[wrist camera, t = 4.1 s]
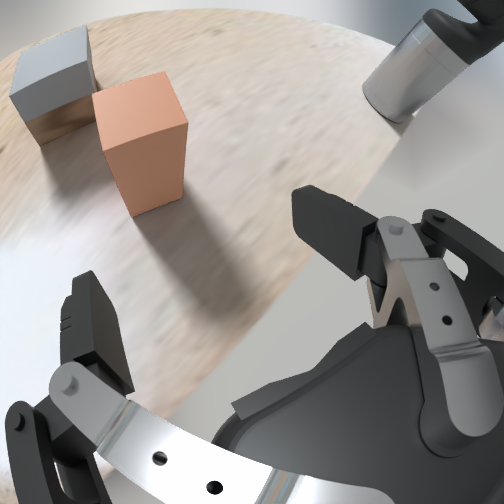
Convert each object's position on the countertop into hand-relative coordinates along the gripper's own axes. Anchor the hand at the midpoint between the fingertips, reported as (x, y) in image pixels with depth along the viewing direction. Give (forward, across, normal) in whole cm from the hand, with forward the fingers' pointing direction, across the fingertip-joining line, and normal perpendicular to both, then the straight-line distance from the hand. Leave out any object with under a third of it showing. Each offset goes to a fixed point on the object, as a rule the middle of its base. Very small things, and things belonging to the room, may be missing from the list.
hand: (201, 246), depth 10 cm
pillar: (+17, 0, +3) cm, 17 cm away
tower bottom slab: (+27, +7, -7) cm, 29 cm away
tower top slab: (+24, +7, -10) cm, 27 cm away
